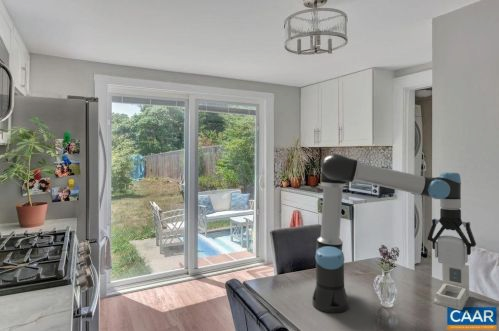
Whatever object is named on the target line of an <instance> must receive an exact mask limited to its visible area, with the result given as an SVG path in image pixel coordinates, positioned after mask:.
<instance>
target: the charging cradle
mask: <svg viewBox="0 0 499 331" xmlns="http://www.w3.org/2000/svg"><path fill="white" fill-rule="evenodd" d="M441 266H442V286H441V287H440V288H439V289H438V291H437V292H436V293H435V298H434V300H433V304H436V305H439V306H442V307H443V306H444V307H447V308H451V309H454V310H458V311H461V310H462V311H463V308H465V305H466V303H467V302H466V301H468V299H469V298H470V265H469V264H467V263H465V267H464V268H462V267H457V266H452V265H447V264H443V263H441Z"/></svg>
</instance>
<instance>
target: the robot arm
mask: <svg viewBox="0 0 499 331" xmlns="http://www.w3.org/2000/svg"><path fill="white" fill-rule="evenodd" d="M320 170H321V171H320V183H321V184H322V186H323V193H322V194H323V195H322V205H321V208H322V209H321V210H322V211H321V226H320V236H319V237H317V239H316V250H315V256H314V258H315V280H316V282H315V283H316V284H315V289H314V292H313V295H312V305H313V307H314V308H315V309H316V310H319V311H321V312H325V313H328V314H329V313H330V314H340V313H343V312H346V311H348V309H350V300H349V297H348V295H347V291H346V289H345V255H344V252H343V241H342V239H341V237H340V235H341V234H340V233H341V221H342V220H341V217H342V206H343V205H342V204H343V203H342V202H343V187H344V186H346V185H347V182H349V183H354V182H360V183H364V184H370V185H373V186H377V187H378V186H379V187H383V188H387V189H393V190H397V191H400V192H401V191H402V192H406V193H411V195H418V196H423V197H428V198H432V199H434V200H435V199H436V200H439V206H440V209H439V213H440V218H438V219H437V218H433V219H431V227H430V230H429V233H428V236H427V241H430V242H432V244H431V246H432V248H431V249H432V250H434V258H437V259H438V237H439V236H442V234H443V232H444V231H445V230H446V231H449V230H450V231H455V232H456V233H457V235H458V236H459V238H460V239H462V240H463V242H464V244H465V247H464V255H465V264H467V263H468V262H469V256H470V255H471V253H472V247H476V246H477V242H476V240H475V237H474V235H473V232H472V229H471V222H470V221H463V220H462V210H461V209H462V201H461V200H462V197H461V196H462V195H461V192H462V191H461V190H462V189H461V187H462V181H461V174H460V173H458V172H440V173H439V176H437V177H428V176H422V175H419V174H413V173H408V172H403V171H398V170H395V169H389V168H384V167H379V166H376V165H371V164H370V165H369V164H365V163H361V162H359V160H358V159H353V158H350V157H347V156H344V155H342V154H340V153H330V154H328V155H327V156H325V157H324V158H323V160H322V161H321V164H320ZM439 223H440V225H441V227H440V228H439V230H438V231H437V233H436V234H435V230H436V228H437V225H438V224H439ZM462 225H463V227H464V228H465V230H466V233H467V235H468V237H466V235H465V234H464V232H463V230H462V229H461V226H462ZM434 234H435V235H434ZM433 236H434V237H433ZM468 239H469V240H468Z"/></svg>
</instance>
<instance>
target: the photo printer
mask: <svg viewBox="0 0 499 331" xmlns="http://www.w3.org/2000/svg"><path fill="white" fill-rule="evenodd" d="M437 242H438V257H437V263H439V264H442V263H443V264H447V265H452V266H457V267H462V268H464V267H465V264H466V263H465V255H464V247H465V246H466V245H465V243H464V242H463V240H462V239H461V237H457V236H453V235H440V236H439V237H438V239H437Z"/></svg>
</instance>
